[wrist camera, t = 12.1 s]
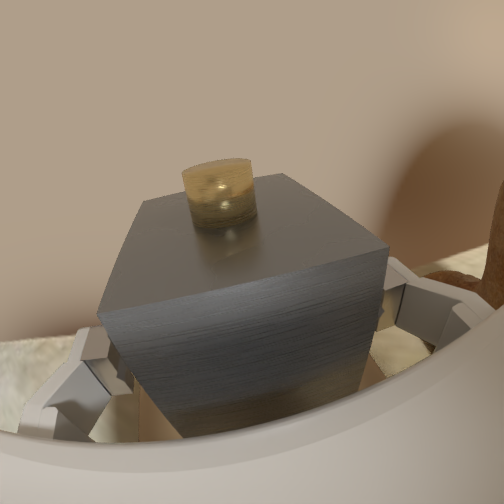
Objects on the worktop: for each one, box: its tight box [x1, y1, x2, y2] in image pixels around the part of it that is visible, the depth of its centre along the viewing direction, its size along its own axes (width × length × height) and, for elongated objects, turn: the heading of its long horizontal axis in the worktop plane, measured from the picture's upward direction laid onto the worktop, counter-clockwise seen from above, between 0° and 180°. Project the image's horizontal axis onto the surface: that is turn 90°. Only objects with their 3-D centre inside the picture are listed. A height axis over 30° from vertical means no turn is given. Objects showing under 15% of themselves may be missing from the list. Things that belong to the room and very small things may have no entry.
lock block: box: [97, 158, 390, 438], centre depth 9 cm, size 5×6×12 cm
